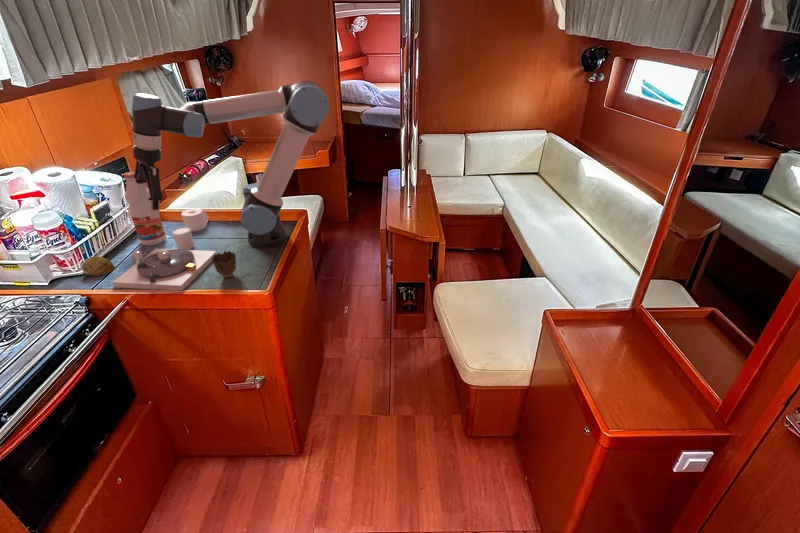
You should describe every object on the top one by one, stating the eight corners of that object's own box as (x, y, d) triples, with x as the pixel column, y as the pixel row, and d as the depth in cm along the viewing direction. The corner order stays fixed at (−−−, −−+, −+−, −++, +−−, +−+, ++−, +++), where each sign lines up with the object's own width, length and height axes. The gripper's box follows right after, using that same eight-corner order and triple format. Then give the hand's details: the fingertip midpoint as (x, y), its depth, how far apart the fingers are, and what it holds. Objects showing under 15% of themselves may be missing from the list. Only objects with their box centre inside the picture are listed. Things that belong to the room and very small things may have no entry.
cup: (218, 284, 141) (213, 263, 137) (215, 274, 147) (209, 254, 143) (241, 278, 144) (236, 258, 140) (237, 269, 150) (232, 249, 146)
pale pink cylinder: (198, 243, 168) (194, 227, 164) (189, 251, 162) (184, 234, 159) (182, 242, 169) (177, 226, 165) (172, 250, 163) (167, 234, 159)
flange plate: (177, 248, 159) (172, 232, 156) (208, 263, 149) (203, 246, 145) (128, 268, 147) (121, 251, 143) (158, 286, 136) (151, 268, 133)
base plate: (217, 255, 159) (214, 244, 156) (182, 290, 138) (178, 278, 136) (157, 253, 161) (153, 242, 159) (114, 287, 140) (109, 275, 138)
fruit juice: (169, 234, 175) (148, 168, 161) (163, 244, 167) (140, 176, 153) (144, 237, 174) (121, 170, 160) (137, 247, 166) (112, 177, 152)
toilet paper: (209, 219, 188) (205, 205, 185) (203, 230, 179) (199, 215, 175) (190, 221, 187) (186, 206, 184) (183, 232, 178) (178, 216, 174)
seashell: (111, 276, 155) (95, 259, 153) (123, 265, 153) (106, 248, 151) (90, 285, 146) (72, 268, 144) (102, 274, 144) (84, 256, 142)
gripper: (121, 134, 137) (123, 195, 146) (146, 159, 122) (147, 226, 132) (147, 135, 142) (148, 195, 151) (174, 160, 128) (173, 224, 137)
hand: (147, 209), depth 141 cm, fingers open, 13 cm apart
